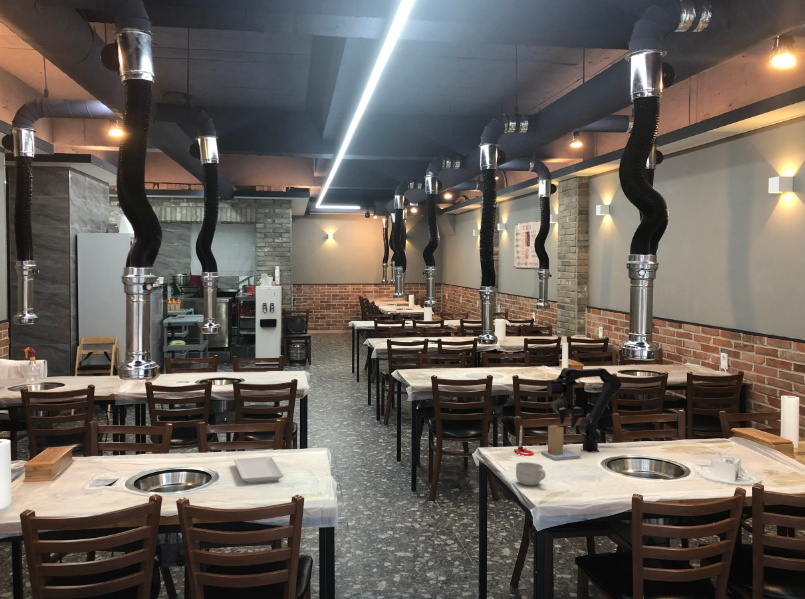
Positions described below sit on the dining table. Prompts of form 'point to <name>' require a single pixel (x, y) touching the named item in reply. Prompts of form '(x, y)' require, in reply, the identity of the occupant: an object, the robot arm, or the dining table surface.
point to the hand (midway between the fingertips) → (567, 425)
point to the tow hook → (522, 447)
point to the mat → (564, 456)
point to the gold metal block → (555, 440)
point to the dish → (728, 472)
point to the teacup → (529, 473)
